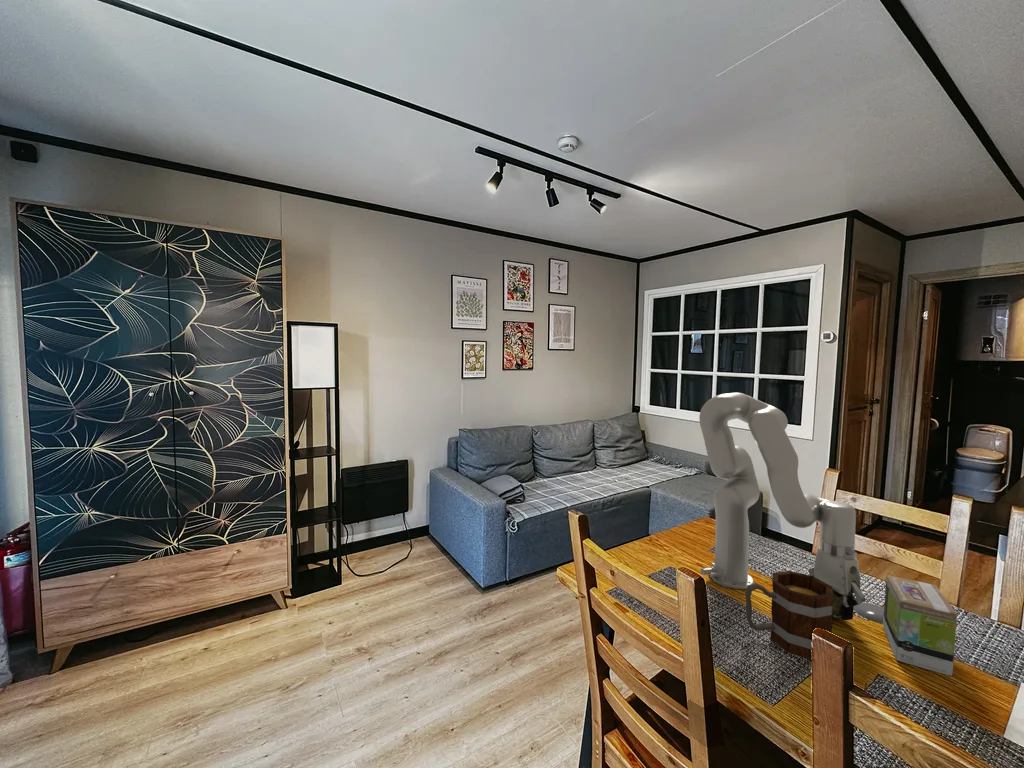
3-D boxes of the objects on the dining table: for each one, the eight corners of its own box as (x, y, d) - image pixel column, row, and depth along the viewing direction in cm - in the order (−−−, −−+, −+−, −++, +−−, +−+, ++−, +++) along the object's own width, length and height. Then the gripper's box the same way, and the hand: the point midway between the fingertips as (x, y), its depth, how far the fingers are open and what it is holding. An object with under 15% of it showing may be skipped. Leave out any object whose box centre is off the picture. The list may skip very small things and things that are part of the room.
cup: (857, 626, 112) (858, 597, 112) (825, 623, 114) (827, 594, 113) (841, 610, 120) (842, 583, 119) (812, 607, 121) (813, 580, 121)
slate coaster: (879, 628, 112) (880, 626, 112) (843, 606, 122) (843, 604, 122) (910, 623, 114) (910, 621, 114) (872, 602, 124) (872, 600, 124)
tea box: (955, 678, 94) (958, 614, 93) (895, 661, 100) (898, 600, 99) (933, 640, 107) (937, 583, 106) (881, 627, 112) (884, 572, 111)
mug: (815, 628, 112) (817, 572, 111) (846, 664, 99) (848, 601, 98) (735, 620, 115) (736, 566, 114) (754, 654, 102) (756, 594, 101)
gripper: (881, 561, 108) (877, 629, 109) (819, 534, 125) (817, 592, 126) (856, 564, 106) (853, 632, 107) (797, 536, 123) (795, 595, 124)
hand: (834, 610), depth 117 cm, fingers closed on cup, 6 cm apart
